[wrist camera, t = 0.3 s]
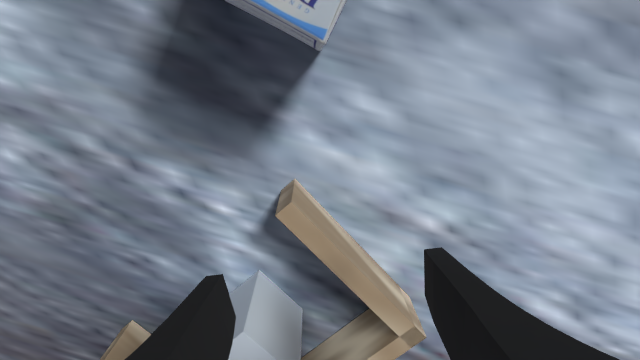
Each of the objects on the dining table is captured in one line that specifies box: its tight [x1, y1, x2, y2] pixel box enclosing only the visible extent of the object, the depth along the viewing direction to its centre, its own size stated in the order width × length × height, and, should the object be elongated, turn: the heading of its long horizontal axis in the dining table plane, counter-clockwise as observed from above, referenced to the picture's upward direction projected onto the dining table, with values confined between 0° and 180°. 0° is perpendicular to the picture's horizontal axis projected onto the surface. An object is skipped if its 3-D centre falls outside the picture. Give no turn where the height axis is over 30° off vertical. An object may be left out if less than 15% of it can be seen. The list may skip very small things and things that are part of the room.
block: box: [228, 270, 303, 360], centre depth 23 cm, size 4×4×6 cm
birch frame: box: [100, 179, 426, 360], centre depth 24 cm, size 17×12×4 cm
